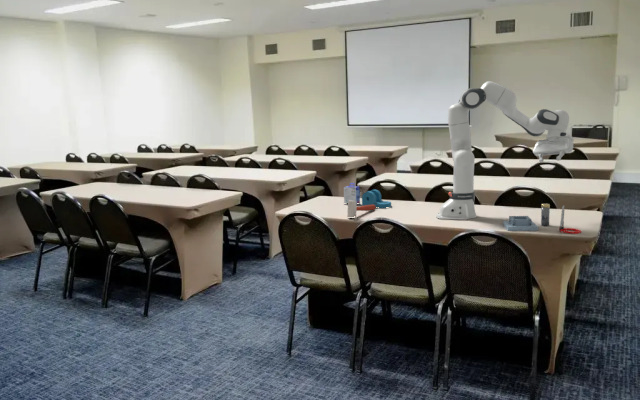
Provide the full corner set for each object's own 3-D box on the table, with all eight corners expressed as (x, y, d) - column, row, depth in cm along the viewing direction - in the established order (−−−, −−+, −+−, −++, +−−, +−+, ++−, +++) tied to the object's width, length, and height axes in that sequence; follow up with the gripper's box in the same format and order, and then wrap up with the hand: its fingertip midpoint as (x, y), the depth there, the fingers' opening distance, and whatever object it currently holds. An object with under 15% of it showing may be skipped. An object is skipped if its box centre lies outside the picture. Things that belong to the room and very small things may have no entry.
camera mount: (362, 207, 338) (361, 191, 337) (369, 204, 347) (369, 189, 345) (387, 209, 328) (386, 192, 327) (394, 206, 337) (393, 190, 335)
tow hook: (579, 230, 251) (558, 229, 253) (581, 204, 248) (560, 203, 251) (582, 235, 243) (560, 233, 246) (584, 208, 240) (562, 207, 243)
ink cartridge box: (360, 203, 350) (359, 182, 348) (356, 205, 346) (355, 184, 343) (348, 203, 356) (347, 182, 353) (343, 204, 351) (343, 183, 349)
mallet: (371, 199, 328) (347, 200, 303) (376, 200, 326) (352, 200, 301) (371, 216, 328) (346, 218, 304) (375, 217, 326) (352, 219, 302)
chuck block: (508, 230, 256) (508, 220, 255) (503, 224, 269) (503, 215, 269) (537, 230, 253) (538, 220, 252) (531, 224, 267) (531, 214, 266)
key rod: (542, 226, 261) (542, 205, 260) (540, 224, 265) (540, 203, 263) (550, 226, 261) (550, 204, 259) (548, 224, 264) (548, 203, 263)
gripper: (534, 137, 280) (528, 159, 275) (571, 132, 263) (565, 155, 259) (539, 143, 283) (533, 165, 279) (576, 139, 266) (571, 162, 262)
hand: (549, 160), depth 269 cm, fingers open, 8 cm apart
